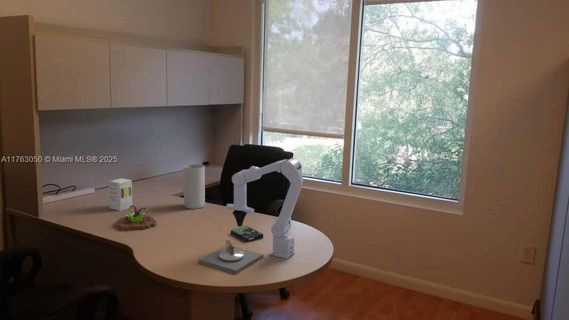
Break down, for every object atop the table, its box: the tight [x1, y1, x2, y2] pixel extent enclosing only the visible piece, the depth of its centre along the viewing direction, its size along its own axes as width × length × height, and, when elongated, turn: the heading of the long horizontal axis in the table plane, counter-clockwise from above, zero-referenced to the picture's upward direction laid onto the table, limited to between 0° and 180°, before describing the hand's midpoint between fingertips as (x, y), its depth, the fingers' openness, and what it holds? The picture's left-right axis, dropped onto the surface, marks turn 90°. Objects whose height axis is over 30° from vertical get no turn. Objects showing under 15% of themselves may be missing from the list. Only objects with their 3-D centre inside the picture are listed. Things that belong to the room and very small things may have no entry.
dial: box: [219, 239, 244, 262], centre depth 192 cm, size 14×11×5 cm
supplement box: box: [108, 177, 133, 212], centre depth 259 cm, size 10×9×17 cm
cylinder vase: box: [182, 163, 206, 210], centre depth 266 cm, size 12×12×25 cm
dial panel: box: [198, 245, 264, 275], centre depth 191 cm, size 20×20×2 cm
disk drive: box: [230, 225, 264, 243], centre depth 221 cm, size 10×3×15 cm
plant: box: [115, 204, 157, 232], centre depth 232 cm, size 20×20×11 cm
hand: (239, 225), depth 204 cm, fingers closed
